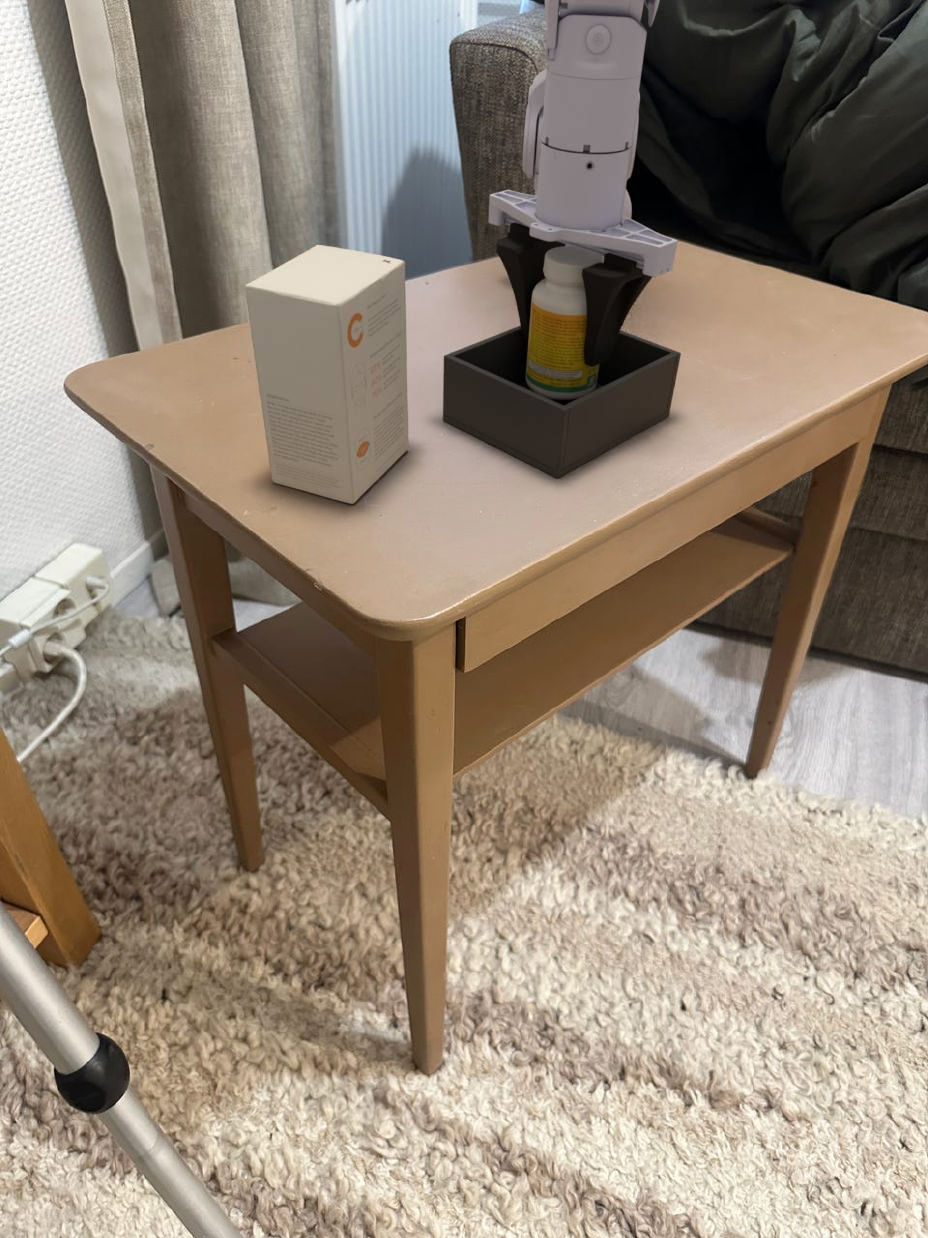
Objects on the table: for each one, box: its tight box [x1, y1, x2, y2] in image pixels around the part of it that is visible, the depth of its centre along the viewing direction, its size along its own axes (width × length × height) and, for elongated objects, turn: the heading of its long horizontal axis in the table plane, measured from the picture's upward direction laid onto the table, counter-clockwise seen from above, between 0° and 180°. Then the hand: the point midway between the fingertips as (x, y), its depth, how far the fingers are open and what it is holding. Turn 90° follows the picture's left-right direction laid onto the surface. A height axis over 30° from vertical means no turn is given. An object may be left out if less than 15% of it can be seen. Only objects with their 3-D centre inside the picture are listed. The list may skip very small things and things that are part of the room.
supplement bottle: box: [526, 246, 603, 400], centre depth 64 cm, size 5×5×10 cm
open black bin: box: [442, 325, 682, 479], centre depth 65 cm, size 13×11×5 cm
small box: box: [244, 244, 410, 505], centre depth 56 cm, size 8×6×13 cm
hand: (564, 348), depth 66 cm, fingers closed on supplement bottle, 5 cm apart
